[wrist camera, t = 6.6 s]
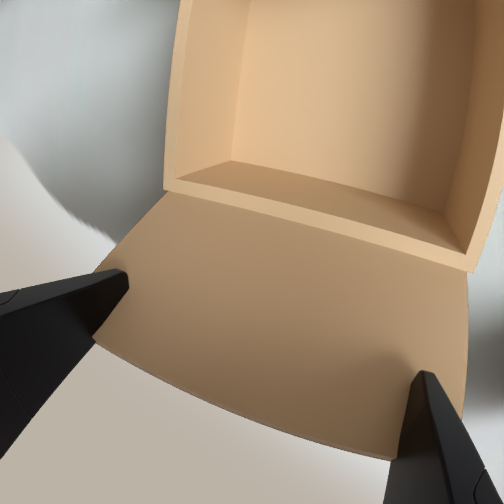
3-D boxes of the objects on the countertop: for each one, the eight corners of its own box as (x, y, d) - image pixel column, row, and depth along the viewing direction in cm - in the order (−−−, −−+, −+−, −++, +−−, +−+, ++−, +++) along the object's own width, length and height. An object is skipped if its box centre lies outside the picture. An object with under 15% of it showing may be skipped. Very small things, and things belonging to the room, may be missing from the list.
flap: (466, 271, 10) (461, 280, 10) (168, 191, 14) (170, 200, 14) (452, 467, 5) (443, 469, 6) (58, 314, 9) (64, 323, 9)
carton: (447, 223, 15) (473, 273, 10) (225, 166, 19) (163, 189, 14) (477, -64, 7) (498, -115, 2) (260, -92, 11) (214, -140, 5)
